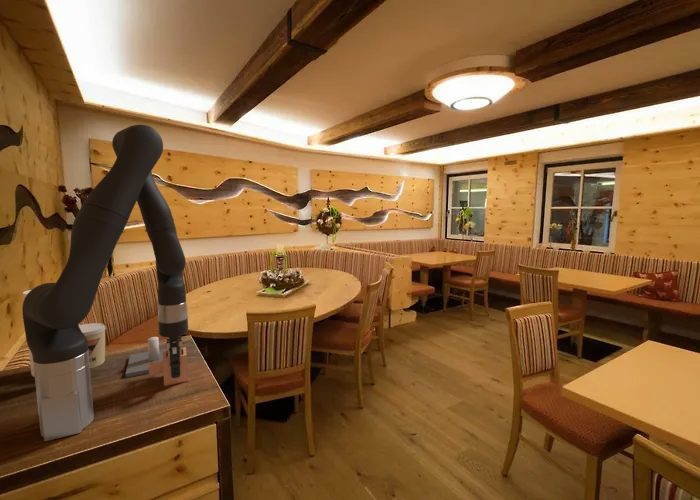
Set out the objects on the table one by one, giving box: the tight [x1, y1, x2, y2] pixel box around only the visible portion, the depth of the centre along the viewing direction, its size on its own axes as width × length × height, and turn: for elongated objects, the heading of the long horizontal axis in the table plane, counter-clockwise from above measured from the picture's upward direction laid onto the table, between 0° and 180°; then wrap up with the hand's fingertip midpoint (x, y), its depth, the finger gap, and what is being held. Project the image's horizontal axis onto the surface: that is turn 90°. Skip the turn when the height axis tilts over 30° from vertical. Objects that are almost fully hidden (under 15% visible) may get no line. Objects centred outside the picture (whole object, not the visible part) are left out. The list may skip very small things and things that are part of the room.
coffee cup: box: [78, 322, 106, 369], centre depth 101 cm, size 9×9×12 cm
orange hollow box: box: [148, 346, 189, 387], centre depth 93 cm, size 6×10×8 cm, turn 119°
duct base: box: [124, 336, 168, 378], centre depth 104 cm, size 14×14×8 cm
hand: (175, 371), depth 95 cm, fingers closed on orange hollow box, 6 cm apart
